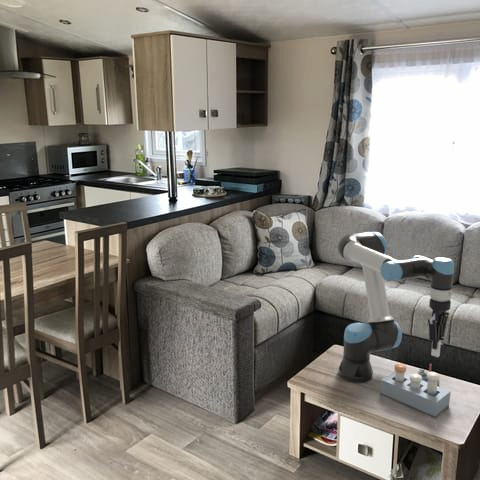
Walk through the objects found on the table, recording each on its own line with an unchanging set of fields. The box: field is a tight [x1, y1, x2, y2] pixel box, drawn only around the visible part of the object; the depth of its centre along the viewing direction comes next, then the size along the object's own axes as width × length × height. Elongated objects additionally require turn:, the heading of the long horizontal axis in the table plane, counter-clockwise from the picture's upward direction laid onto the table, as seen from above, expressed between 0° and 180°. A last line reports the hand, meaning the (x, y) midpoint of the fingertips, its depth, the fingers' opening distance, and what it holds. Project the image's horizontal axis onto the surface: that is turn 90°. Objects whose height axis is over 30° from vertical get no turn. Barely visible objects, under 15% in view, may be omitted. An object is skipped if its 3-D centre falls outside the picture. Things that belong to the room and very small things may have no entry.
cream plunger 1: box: [409, 373, 422, 390], centre depth 205 cm, size 5×5×9 cm
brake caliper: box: [417, 363, 441, 387], centre depth 217 cm, size 11×11×12 cm
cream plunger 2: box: [427, 371, 440, 397], centre depth 200 cm, size 5×5×9 cm
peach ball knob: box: [394, 363, 407, 383], centre depth 210 cm, size 5×5×9 cm
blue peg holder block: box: [379, 370, 451, 420], centre depth 206 cm, size 24×12×7 cm, turn 43°
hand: (435, 355), depth 196 cm, fingers closed
